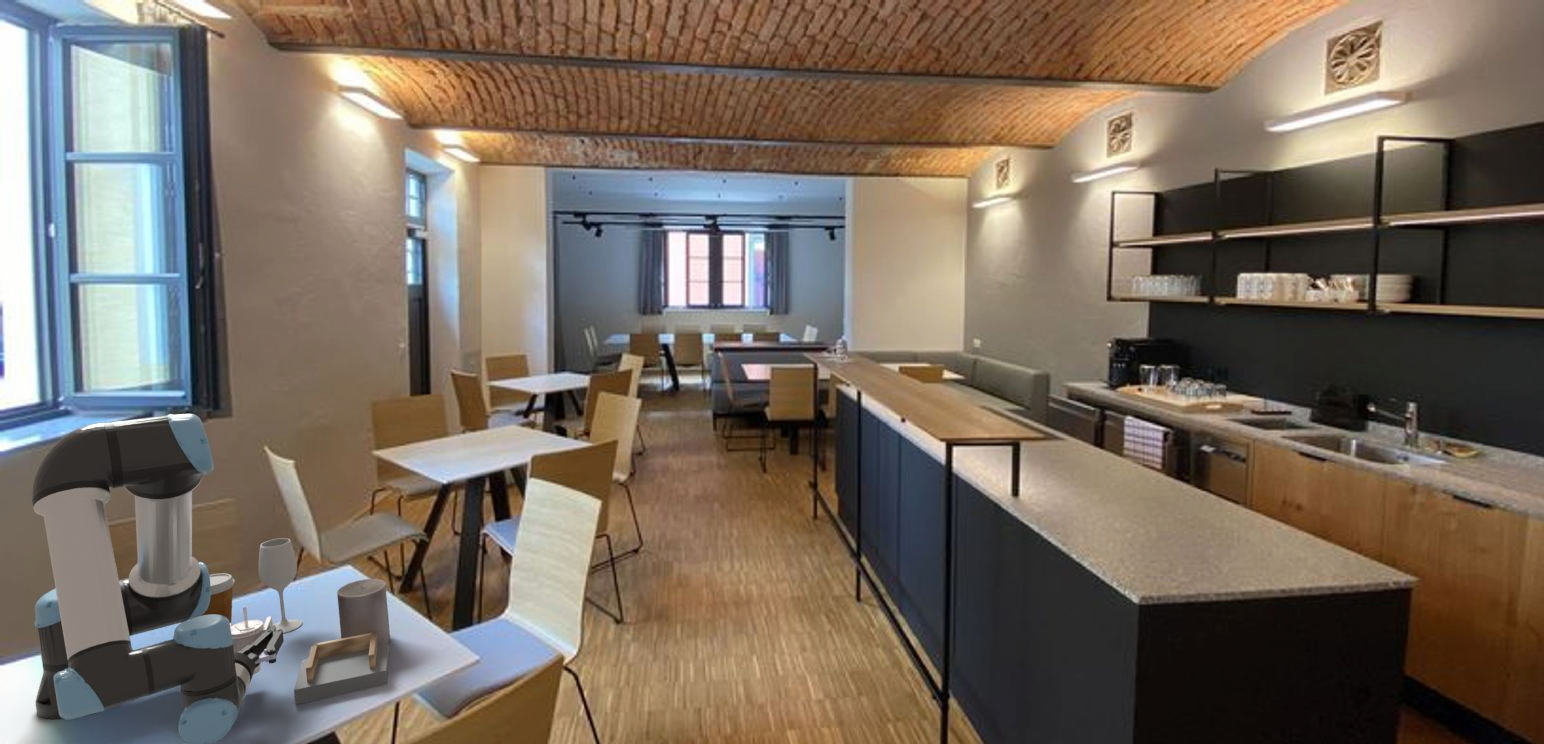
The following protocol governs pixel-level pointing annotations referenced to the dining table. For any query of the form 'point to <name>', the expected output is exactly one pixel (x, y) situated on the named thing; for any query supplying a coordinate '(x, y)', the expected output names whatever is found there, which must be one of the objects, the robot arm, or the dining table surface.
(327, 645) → the bay walls
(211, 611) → the disposable coffee cup
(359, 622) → the pillar candle
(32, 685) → the dining table surface
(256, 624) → the smoothie
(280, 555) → the wineglass
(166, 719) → the dining table surface
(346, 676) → the dock
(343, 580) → the dining table surface
